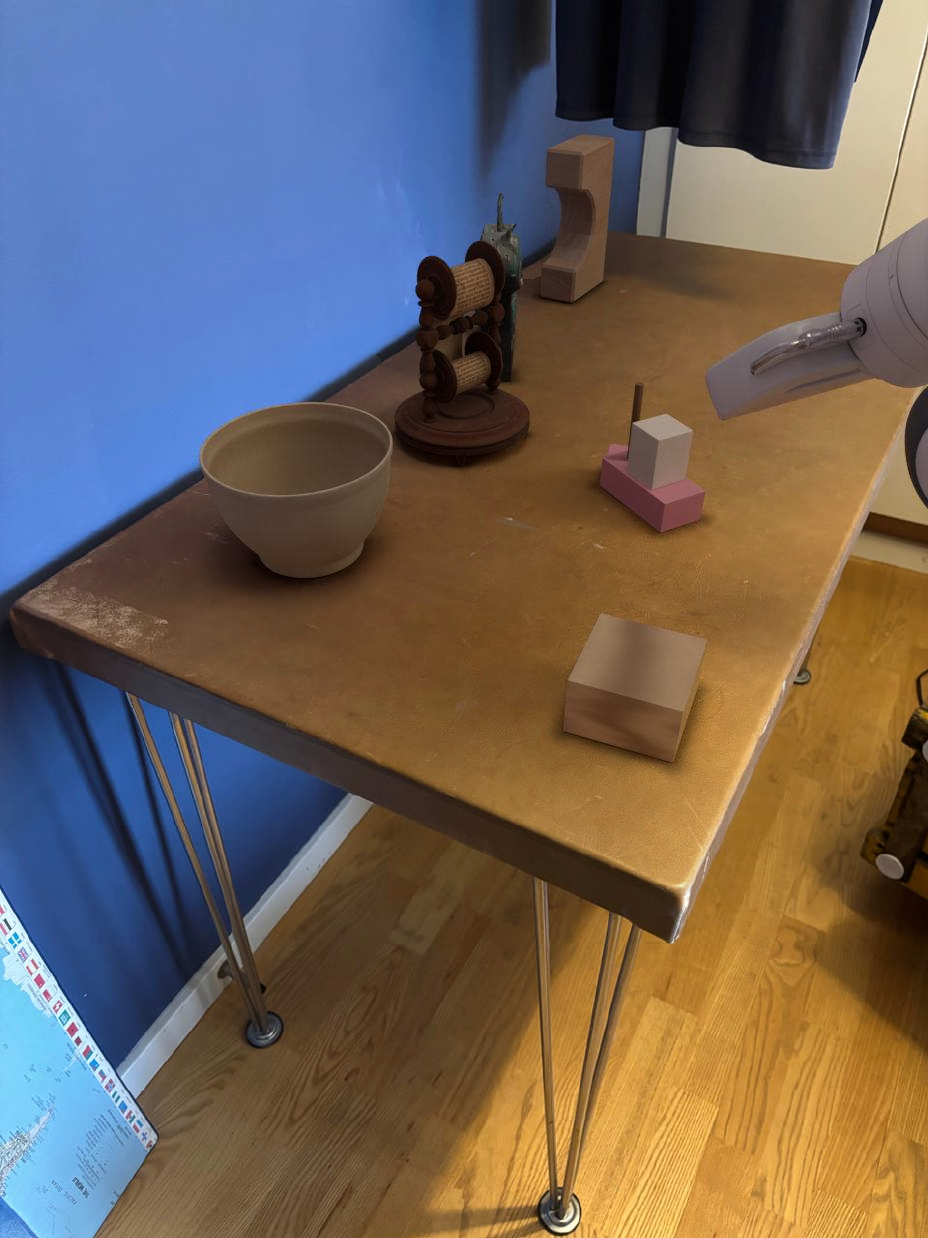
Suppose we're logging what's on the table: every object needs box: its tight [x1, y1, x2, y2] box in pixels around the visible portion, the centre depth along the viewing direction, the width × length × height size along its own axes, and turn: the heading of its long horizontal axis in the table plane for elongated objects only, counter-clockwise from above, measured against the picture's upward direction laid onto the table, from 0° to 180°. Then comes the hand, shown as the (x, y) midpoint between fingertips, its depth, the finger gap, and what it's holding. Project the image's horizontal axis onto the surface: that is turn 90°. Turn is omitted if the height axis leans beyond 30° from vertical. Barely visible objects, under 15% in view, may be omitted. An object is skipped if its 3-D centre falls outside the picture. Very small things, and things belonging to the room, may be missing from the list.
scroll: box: [394, 239, 531, 466], centre depth 95 cm, size 15×15×20 cm
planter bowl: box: [198, 401, 394, 579], centre depth 80 cm, size 16×16×11 cm
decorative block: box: [539, 133, 616, 304], centre depth 131 cm, size 11×6×20 cm, turn 148°
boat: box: [599, 381, 706, 533], centre depth 87 cm, size 12×5×11 cm, turn 28°
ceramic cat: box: [472, 192, 524, 382], centre depth 112 cm, size 20×6×20 cm, turn 179°
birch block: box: [562, 613, 708, 763], centre depth 66 cm, size 8×8×5 cm
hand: (771, 396), depth 70 cm, fingers open, 8 cm apart
